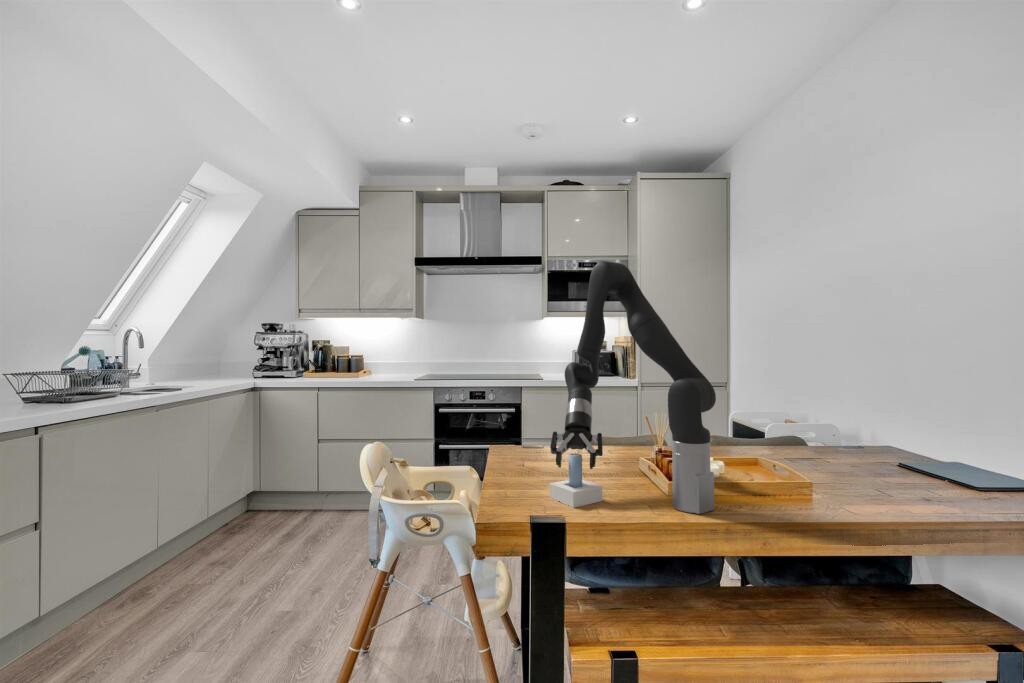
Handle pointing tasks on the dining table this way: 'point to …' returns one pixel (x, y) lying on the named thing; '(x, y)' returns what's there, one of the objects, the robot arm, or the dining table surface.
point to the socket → (576, 493)
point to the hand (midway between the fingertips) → (575, 466)
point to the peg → (575, 470)
